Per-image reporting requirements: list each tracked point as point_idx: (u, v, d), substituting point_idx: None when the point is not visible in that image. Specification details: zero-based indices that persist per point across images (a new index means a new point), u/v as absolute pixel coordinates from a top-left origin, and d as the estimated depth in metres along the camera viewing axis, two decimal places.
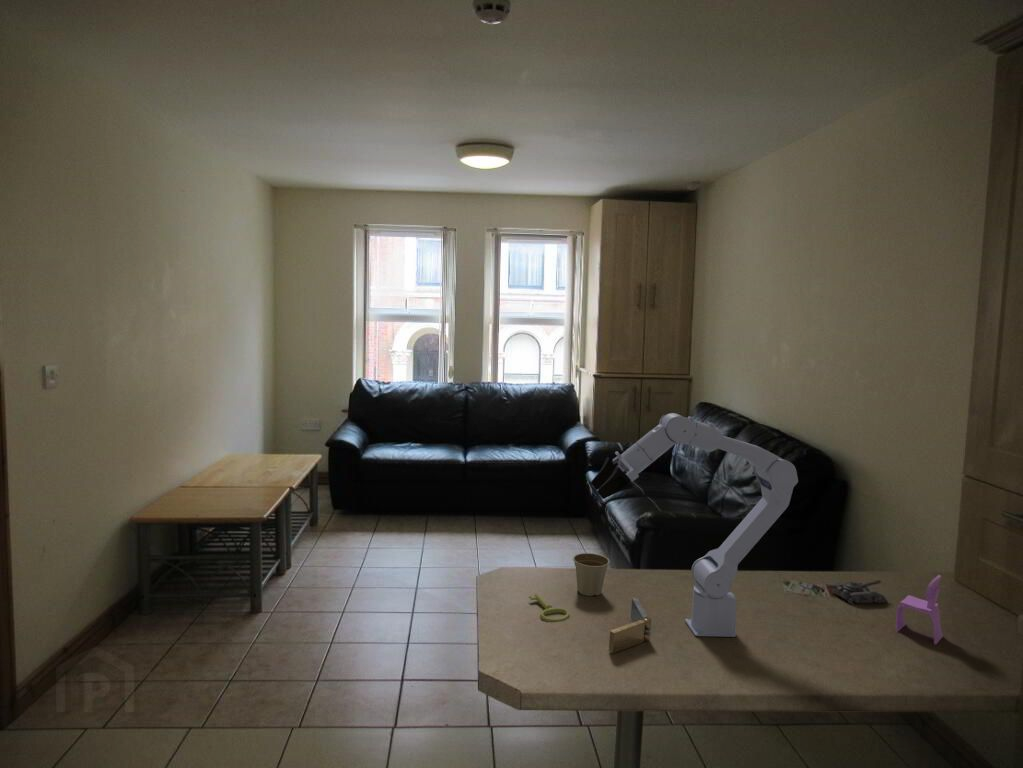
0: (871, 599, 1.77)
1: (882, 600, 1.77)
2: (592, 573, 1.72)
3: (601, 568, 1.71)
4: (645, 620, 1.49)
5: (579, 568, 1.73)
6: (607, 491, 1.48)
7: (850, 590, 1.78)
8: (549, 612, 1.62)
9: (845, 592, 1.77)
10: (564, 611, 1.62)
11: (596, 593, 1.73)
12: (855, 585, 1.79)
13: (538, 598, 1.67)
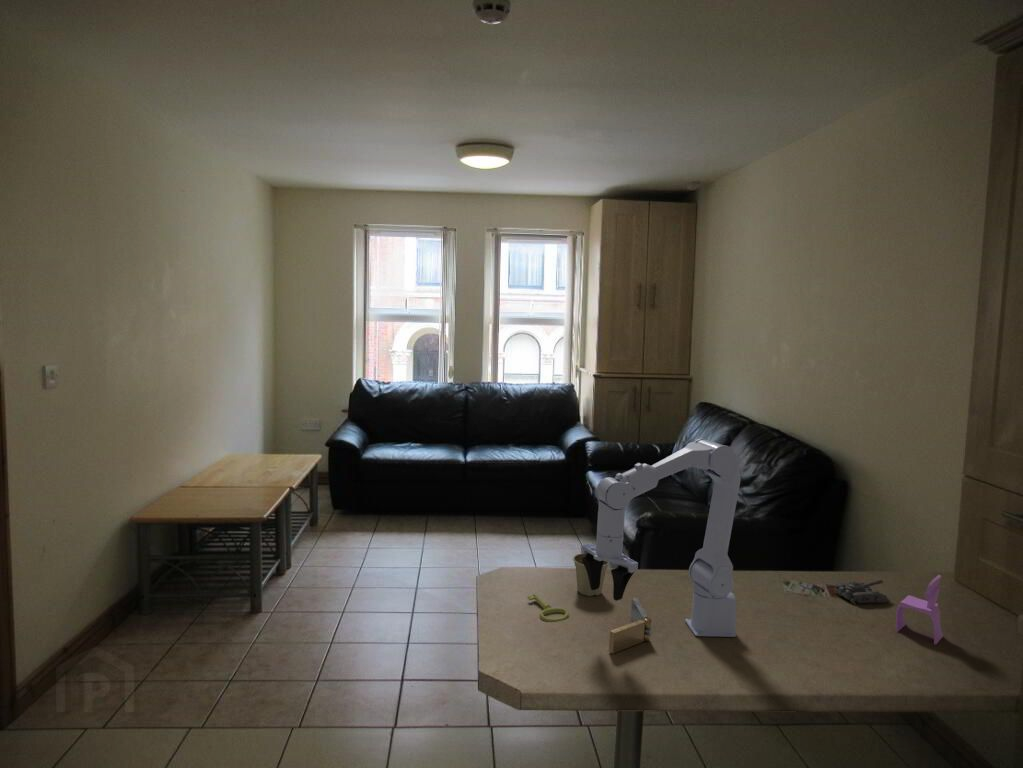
0: (873, 599, 1.77)
1: (884, 600, 1.77)
2: None
3: None
4: (645, 620, 1.49)
5: (579, 568, 1.73)
6: (621, 591, 1.46)
7: (852, 590, 1.78)
8: (548, 612, 1.62)
9: (847, 592, 1.78)
10: (563, 611, 1.62)
11: (596, 593, 1.73)
12: (857, 585, 1.79)
13: (536, 598, 1.67)
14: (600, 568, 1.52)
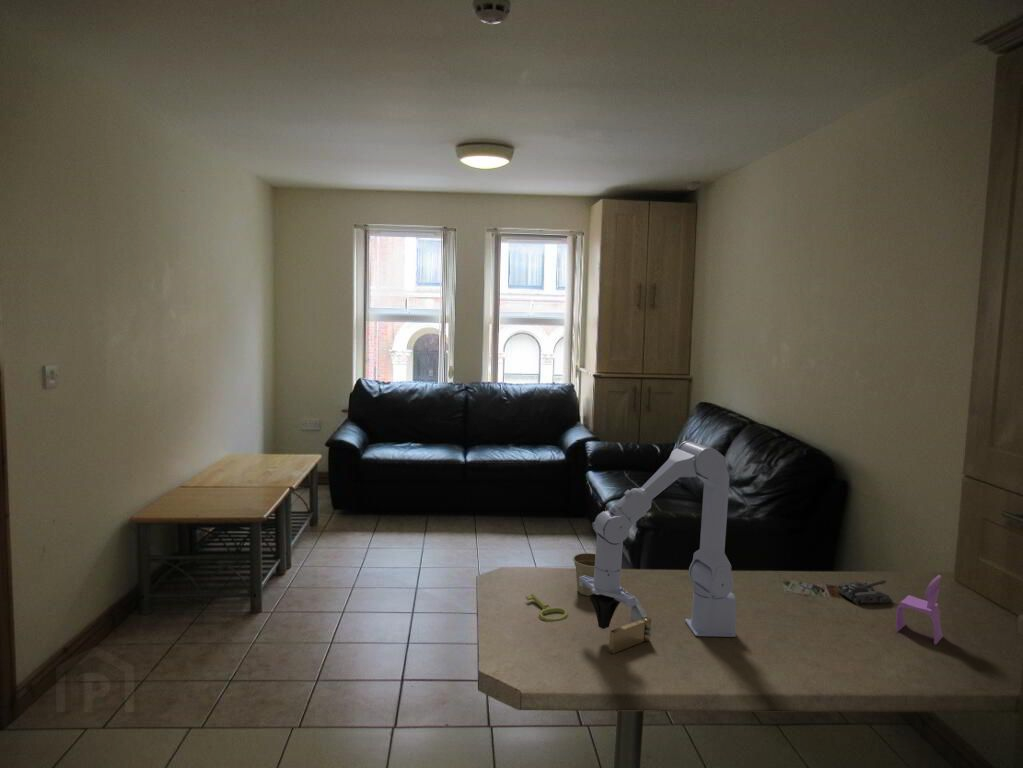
0: (876, 599, 1.77)
1: (887, 600, 1.77)
2: (592, 573, 1.72)
3: None
4: (645, 620, 1.49)
5: (579, 568, 1.73)
6: (608, 619, 1.49)
7: (855, 590, 1.78)
8: (547, 612, 1.62)
9: (850, 592, 1.78)
10: (562, 610, 1.63)
11: None
12: (860, 585, 1.79)
13: (535, 598, 1.67)
14: None
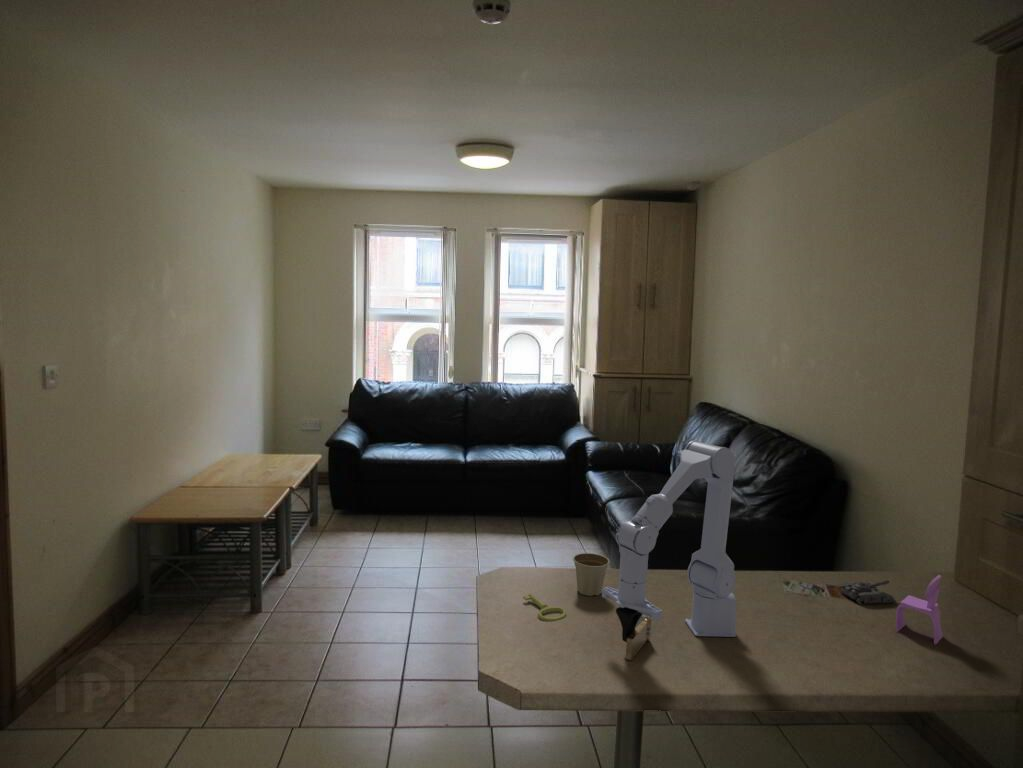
0: (880, 599, 1.77)
1: (891, 600, 1.78)
2: (592, 573, 1.72)
3: (601, 568, 1.71)
4: (647, 620, 1.49)
5: (579, 568, 1.73)
6: None
7: (858, 590, 1.78)
8: (546, 611, 1.62)
9: (853, 592, 1.78)
10: (560, 610, 1.63)
11: (596, 593, 1.73)
12: (864, 585, 1.79)
13: (532, 598, 1.67)
14: (634, 619, 1.45)
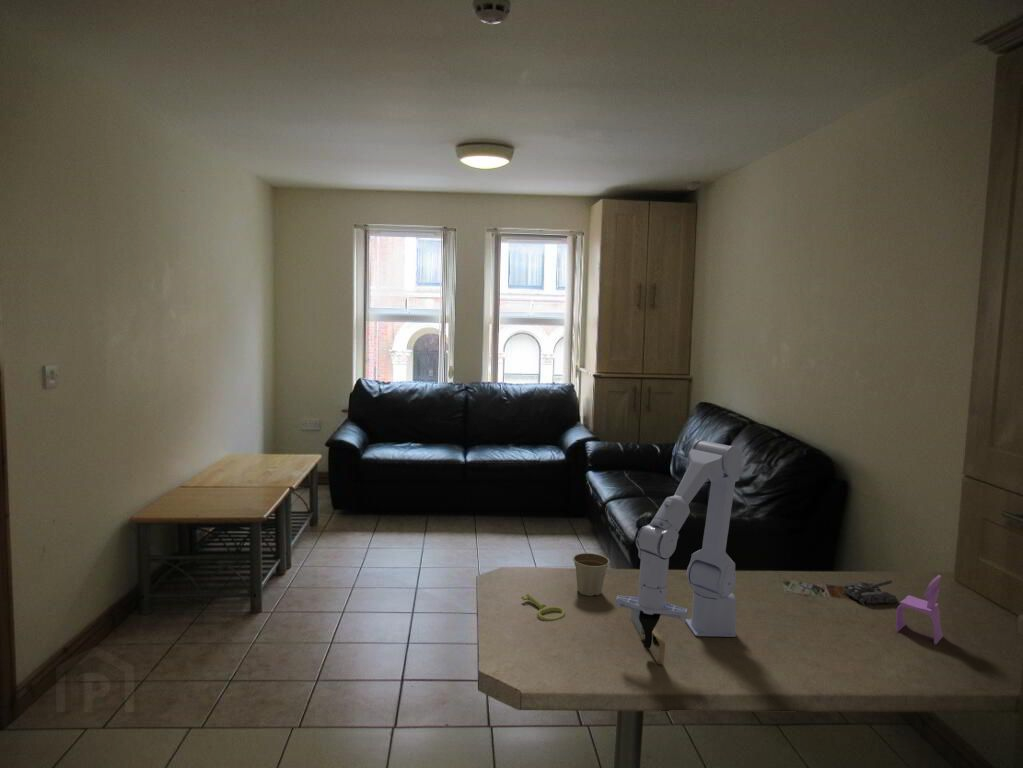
0: (882, 599, 1.77)
1: (893, 600, 1.78)
2: (592, 573, 1.72)
3: (601, 568, 1.71)
4: None
5: (579, 568, 1.73)
6: None
7: (861, 590, 1.78)
8: (545, 611, 1.62)
9: (856, 592, 1.78)
10: (559, 609, 1.63)
11: (596, 593, 1.73)
12: (866, 585, 1.79)
13: (531, 598, 1.67)
14: None
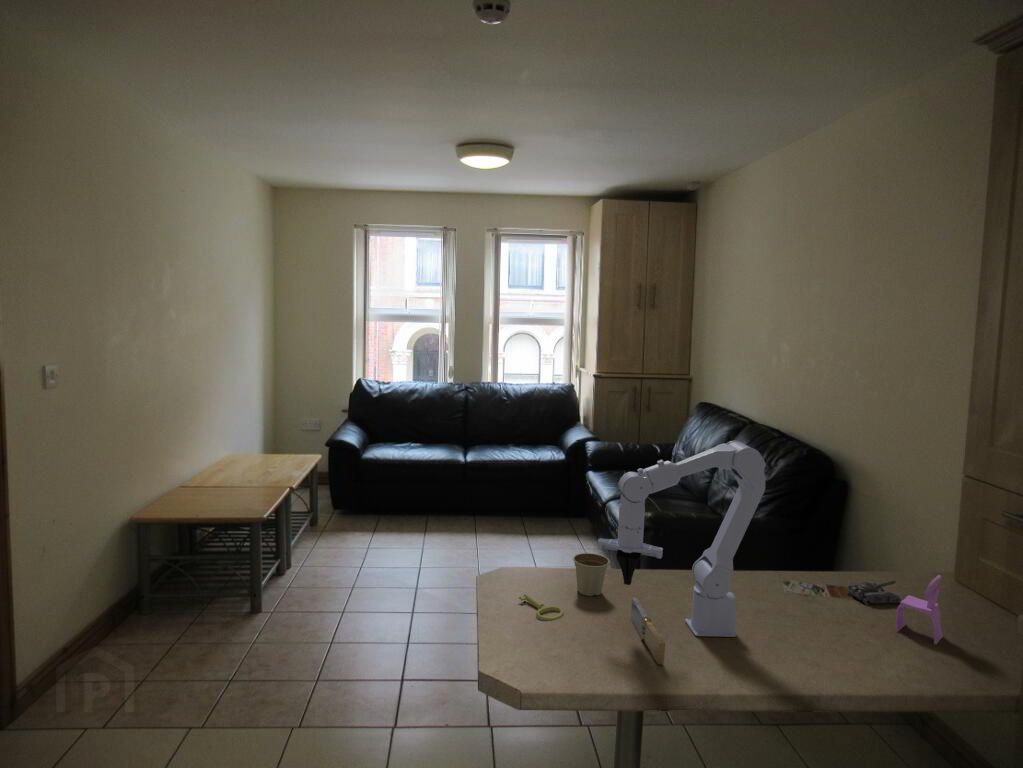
0: (886, 599, 1.77)
1: (897, 600, 1.78)
2: (592, 573, 1.72)
3: (601, 568, 1.71)
4: (649, 620, 1.49)
5: (579, 568, 1.73)
6: (631, 575, 1.56)
7: (865, 590, 1.79)
8: (543, 611, 1.62)
9: (860, 592, 1.78)
10: (557, 609, 1.63)
11: (596, 593, 1.73)
12: (870, 585, 1.79)
13: (528, 598, 1.67)
14: None
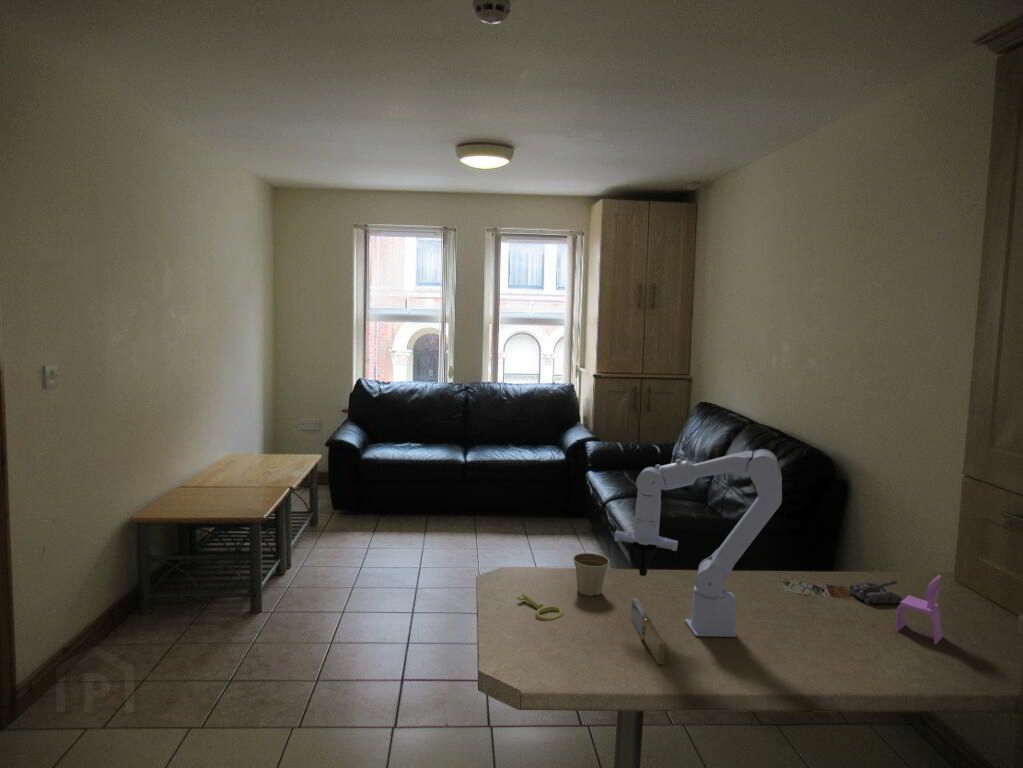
0: (888, 599, 1.77)
1: (899, 601, 1.78)
2: (592, 573, 1.72)
3: (601, 568, 1.71)
4: (649, 620, 1.49)
5: (579, 568, 1.73)
6: (647, 566, 1.61)
7: (866, 590, 1.79)
8: (542, 611, 1.62)
9: (861, 592, 1.78)
10: (556, 609, 1.63)
11: (596, 593, 1.73)
12: (872, 585, 1.79)
13: (527, 598, 1.67)
14: None
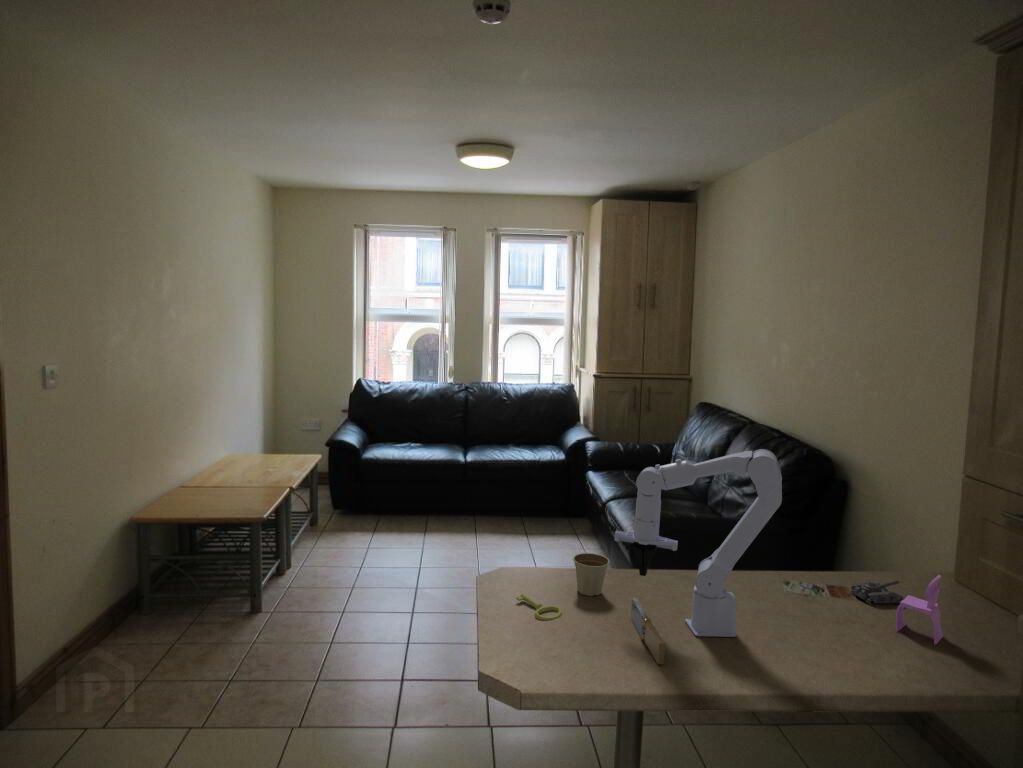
0: (889, 599, 1.77)
1: (900, 600, 1.78)
2: (592, 573, 1.72)
3: (601, 568, 1.71)
4: (649, 620, 1.49)
5: (579, 568, 1.73)
6: (647, 566, 1.61)
7: (868, 590, 1.79)
8: (541, 611, 1.62)
9: (863, 592, 1.78)
10: (555, 608, 1.63)
11: (596, 593, 1.73)
12: (873, 585, 1.79)
13: (526, 598, 1.67)
14: None
